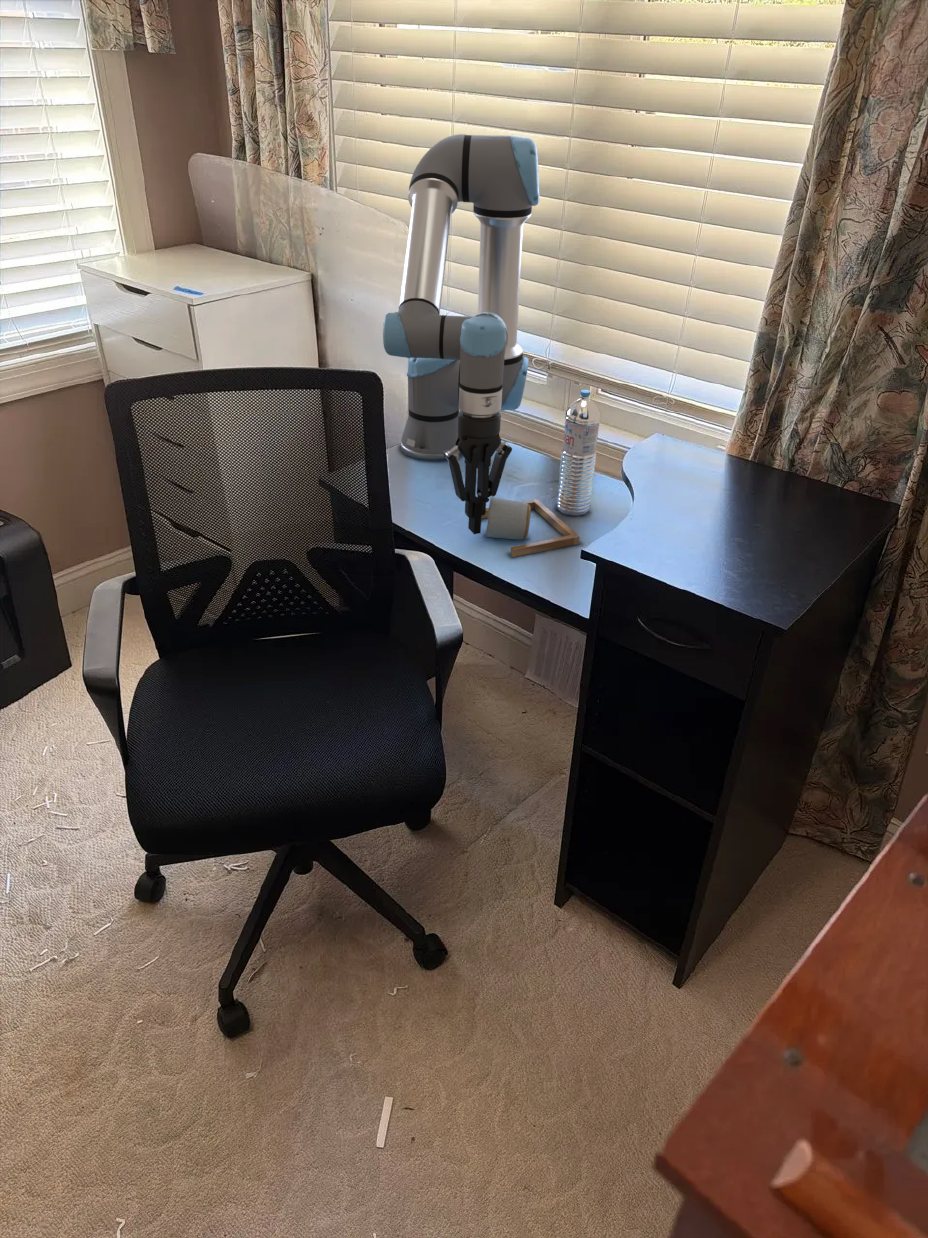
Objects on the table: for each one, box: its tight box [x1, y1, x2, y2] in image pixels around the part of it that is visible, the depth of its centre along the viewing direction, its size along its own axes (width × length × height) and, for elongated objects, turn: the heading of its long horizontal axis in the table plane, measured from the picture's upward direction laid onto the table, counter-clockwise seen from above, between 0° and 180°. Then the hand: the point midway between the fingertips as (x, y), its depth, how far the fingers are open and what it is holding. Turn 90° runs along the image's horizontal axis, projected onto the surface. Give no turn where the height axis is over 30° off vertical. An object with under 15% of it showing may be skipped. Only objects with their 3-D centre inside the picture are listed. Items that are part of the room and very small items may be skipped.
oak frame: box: [481, 498, 580, 558], centre depth 167 cm, size 17×14×2 cm
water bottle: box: [556, 389, 602, 517], centre depth 169 cm, size 7×7×25 cm
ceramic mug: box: [485, 496, 532, 540], centre depth 164 cm, size 11×8×8 cm
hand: (474, 530), depth 162 cm, fingers closed
